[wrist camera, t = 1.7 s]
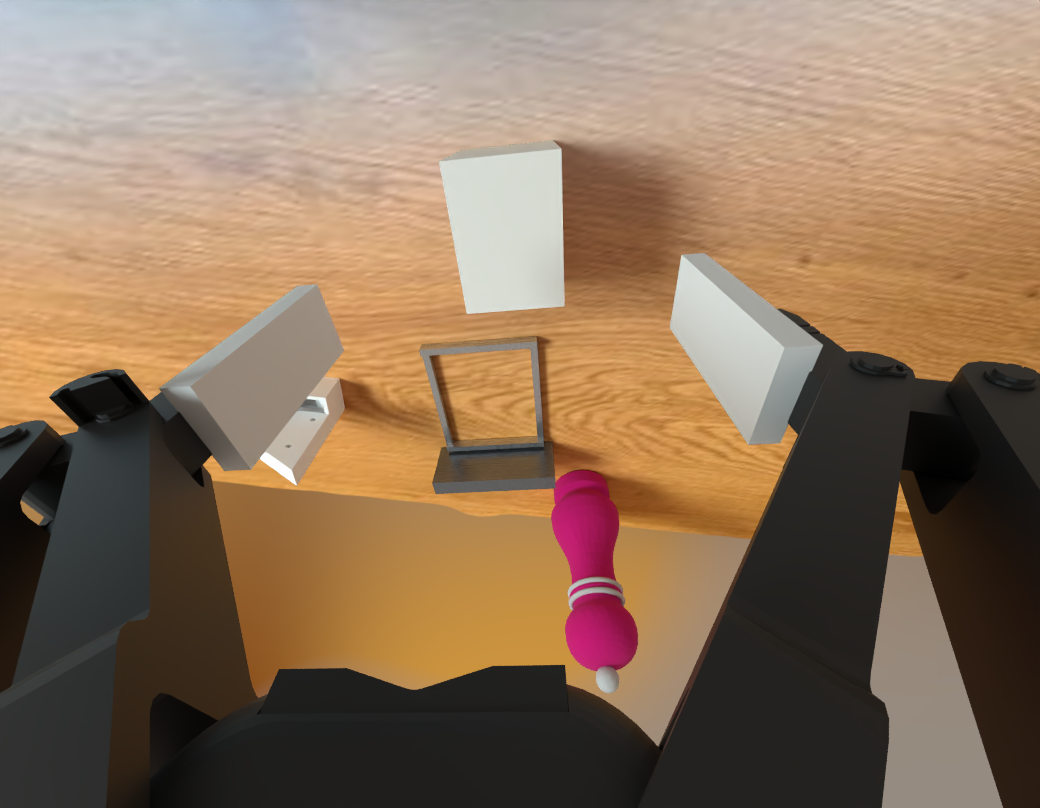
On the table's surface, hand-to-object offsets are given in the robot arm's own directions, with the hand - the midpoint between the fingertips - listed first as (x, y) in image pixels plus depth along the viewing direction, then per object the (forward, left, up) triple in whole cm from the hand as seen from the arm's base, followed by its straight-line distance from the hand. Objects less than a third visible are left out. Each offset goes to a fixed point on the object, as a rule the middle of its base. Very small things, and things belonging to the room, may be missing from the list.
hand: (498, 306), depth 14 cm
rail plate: (+16, -4, -16) cm, 23 cm away
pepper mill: (+30, +5, -17) cm, 35 cm away
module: (0, 0, -17) cm, 17 cm away
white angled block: (+14, -21, -17) cm, 30 cm away
